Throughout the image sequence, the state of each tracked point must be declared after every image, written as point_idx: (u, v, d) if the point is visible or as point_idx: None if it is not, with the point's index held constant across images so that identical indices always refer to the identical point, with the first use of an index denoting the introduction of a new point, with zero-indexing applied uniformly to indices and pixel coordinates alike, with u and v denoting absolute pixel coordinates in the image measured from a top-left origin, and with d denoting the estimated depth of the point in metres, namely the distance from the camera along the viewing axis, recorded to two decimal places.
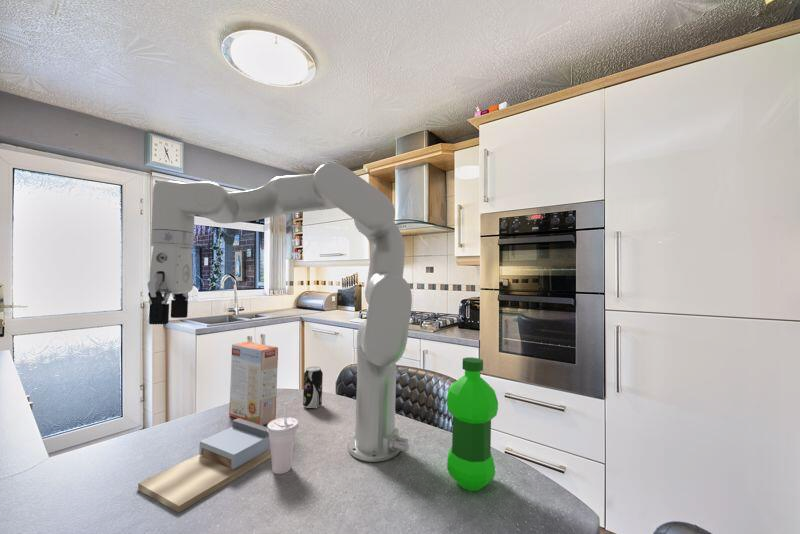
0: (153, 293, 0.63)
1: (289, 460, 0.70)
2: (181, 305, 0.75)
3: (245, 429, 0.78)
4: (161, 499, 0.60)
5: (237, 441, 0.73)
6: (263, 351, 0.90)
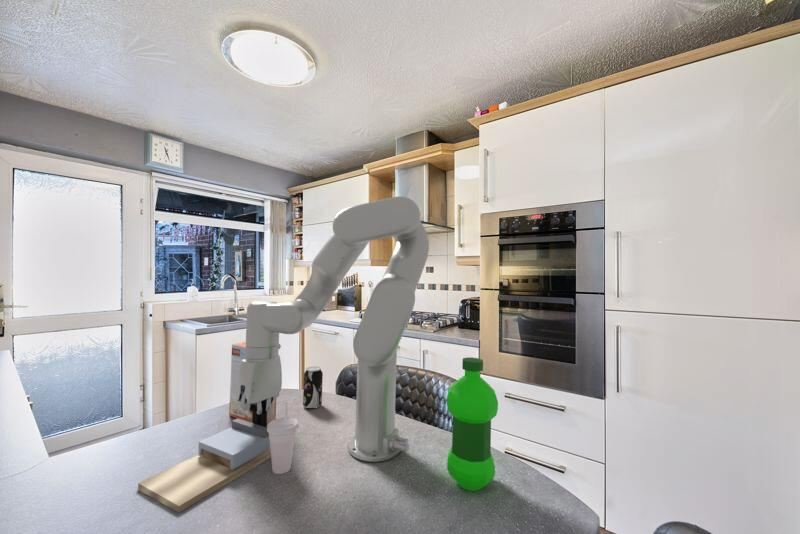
0: None
1: (289, 460, 0.70)
2: None
3: (244, 429, 0.78)
4: (161, 499, 0.60)
5: (236, 441, 0.73)
6: None
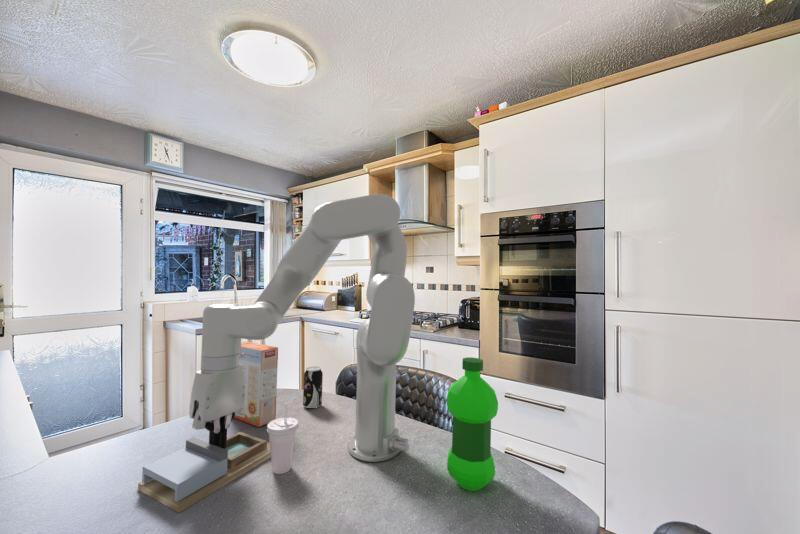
0: None
1: (289, 460, 0.70)
2: None
3: (199, 450, 0.68)
4: (161, 499, 0.60)
5: (186, 466, 0.63)
6: (263, 351, 0.90)
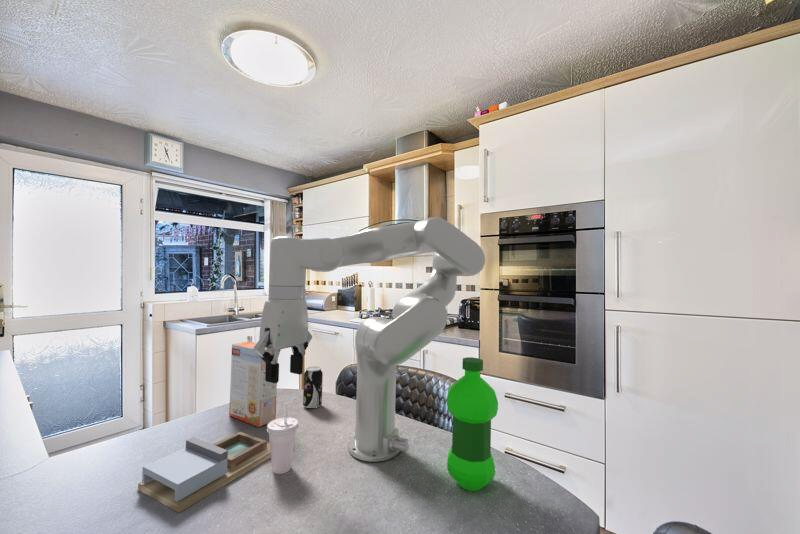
0: None
1: (289, 460, 0.70)
2: None
3: (199, 450, 0.68)
4: (161, 499, 0.60)
5: (186, 466, 0.63)
6: None
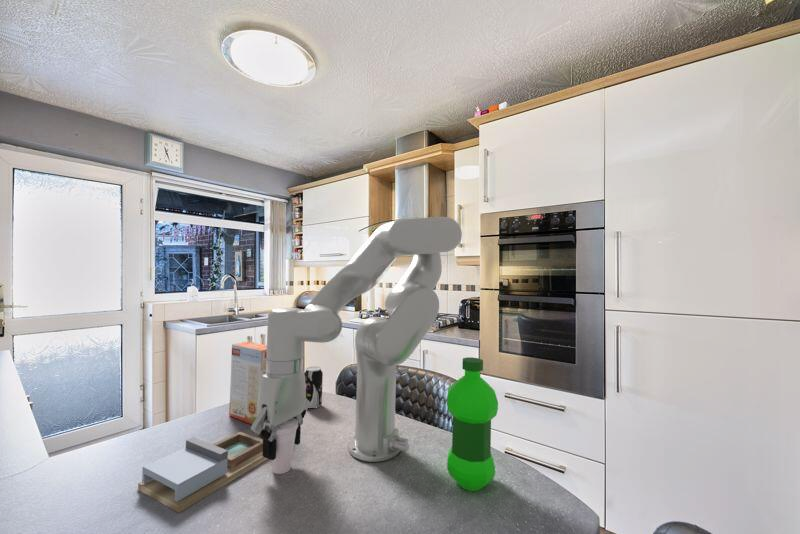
0: None
1: (289, 460, 0.70)
2: None
3: (199, 450, 0.68)
4: (161, 499, 0.60)
5: (186, 466, 0.63)
6: (263, 351, 0.90)
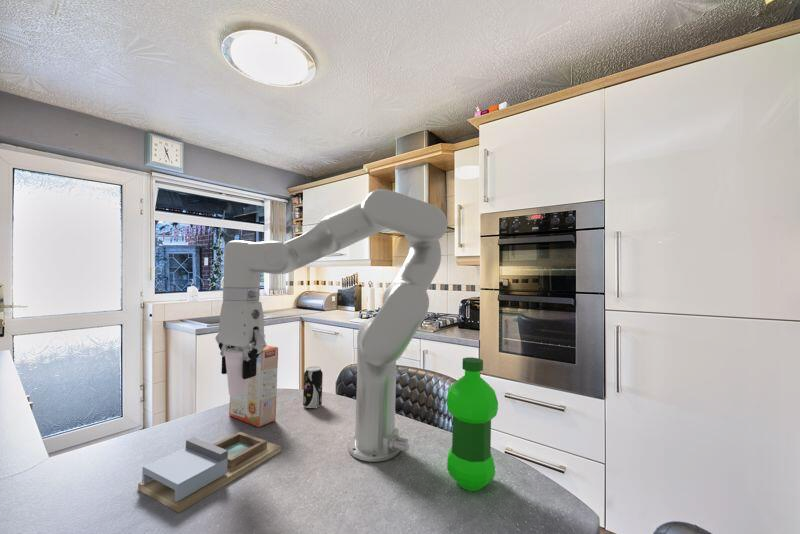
0: (259, 350, 0.73)
1: (230, 385, 0.73)
2: None
3: (199, 450, 0.68)
4: (161, 499, 0.60)
5: (186, 466, 0.63)
6: (263, 351, 0.90)
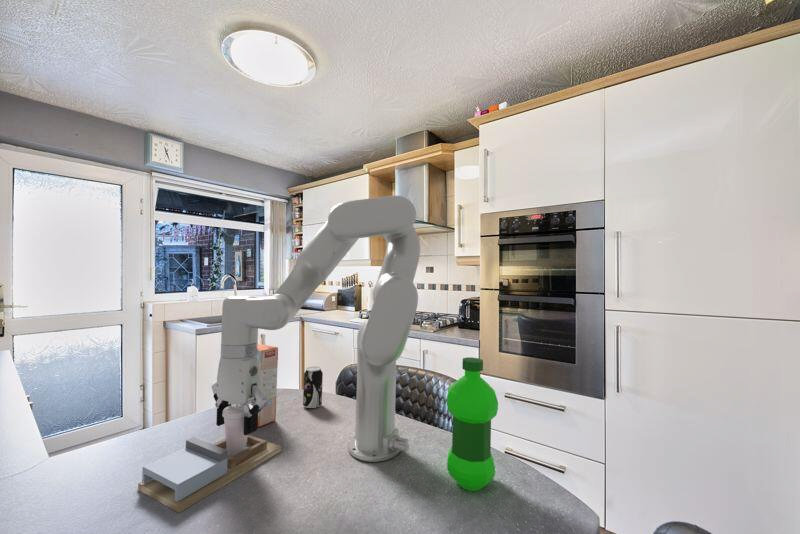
0: (261, 406, 0.72)
1: (228, 445, 0.73)
2: None
3: (199, 450, 0.68)
4: (161, 499, 0.60)
5: (186, 466, 0.63)
6: (263, 351, 0.90)
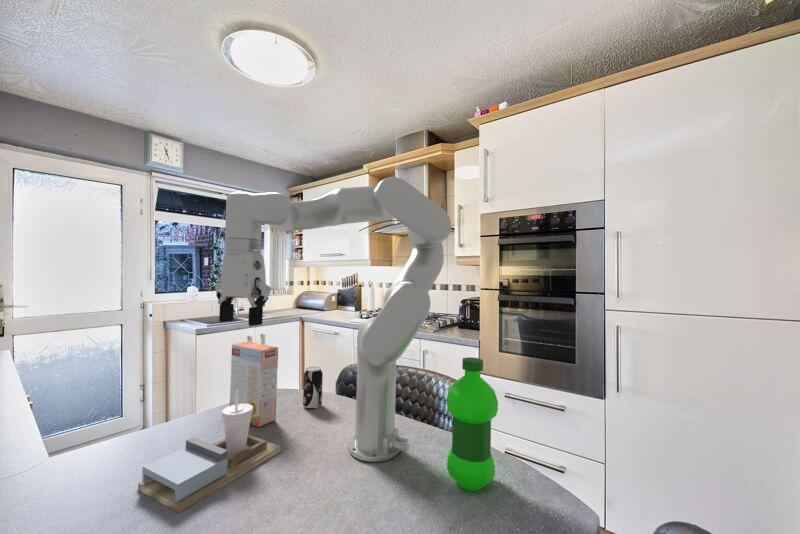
0: (266, 297, 0.72)
1: (228, 446, 0.73)
2: (230, 309, 0.78)
3: (199, 450, 0.68)
4: (161, 499, 0.60)
5: (186, 466, 0.63)
6: (263, 351, 0.90)
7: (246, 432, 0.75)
